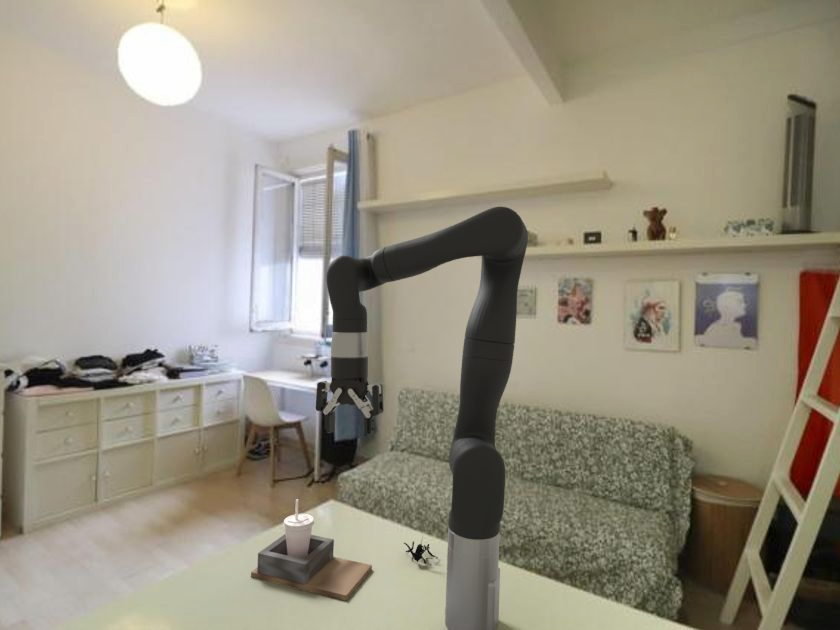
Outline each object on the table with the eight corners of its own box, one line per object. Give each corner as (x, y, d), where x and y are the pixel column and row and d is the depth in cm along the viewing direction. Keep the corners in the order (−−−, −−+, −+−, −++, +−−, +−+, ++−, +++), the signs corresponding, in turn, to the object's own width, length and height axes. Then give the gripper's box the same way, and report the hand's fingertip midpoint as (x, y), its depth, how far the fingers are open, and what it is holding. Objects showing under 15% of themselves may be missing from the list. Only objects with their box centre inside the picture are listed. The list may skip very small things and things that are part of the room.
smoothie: (279, 560, 101) (282, 496, 101) (309, 554, 104) (311, 492, 104) (284, 575, 95) (286, 507, 95) (315, 569, 98) (317, 502, 98)
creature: (408, 553, 110) (397, 562, 103) (410, 529, 112) (400, 536, 104) (440, 560, 108) (431, 569, 101) (442, 535, 109) (434, 542, 102)
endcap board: (371, 569, 100) (372, 546, 100) (346, 600, 89) (346, 574, 89) (285, 550, 107) (285, 528, 107) (250, 576, 96) (251, 552, 96)
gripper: (388, 354, 96) (388, 432, 96) (328, 352, 100) (327, 427, 100) (373, 356, 89) (373, 441, 89) (309, 354, 93) (308, 435, 93)
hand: (348, 433), depth 94 cm, fingers open, 8 cm apart
